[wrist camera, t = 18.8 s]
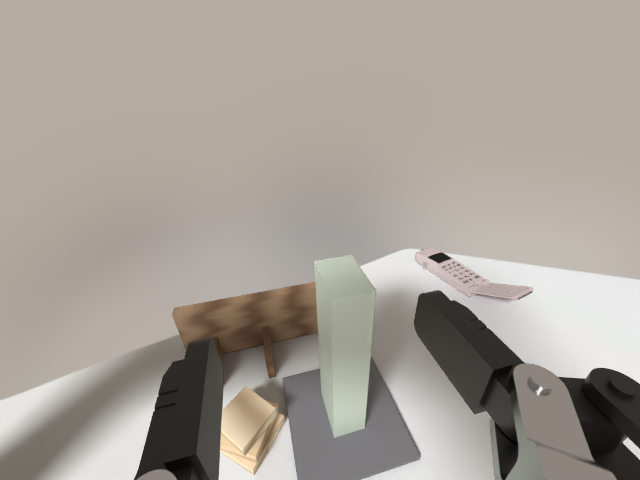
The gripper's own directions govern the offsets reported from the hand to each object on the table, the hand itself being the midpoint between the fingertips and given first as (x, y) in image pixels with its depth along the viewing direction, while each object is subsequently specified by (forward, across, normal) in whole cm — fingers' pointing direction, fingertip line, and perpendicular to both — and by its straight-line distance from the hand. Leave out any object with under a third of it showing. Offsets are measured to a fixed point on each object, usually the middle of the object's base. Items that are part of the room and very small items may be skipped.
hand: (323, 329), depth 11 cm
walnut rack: (+24, +5, +30) cm, 39 cm away
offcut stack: (+13, +7, +30) cm, 34 cm away
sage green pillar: (+13, -5, +29) cm, 32 cm away
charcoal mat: (+12, -5, +30) cm, 33 cm away
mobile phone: (+32, -38, +30) cm, 58 cm away
